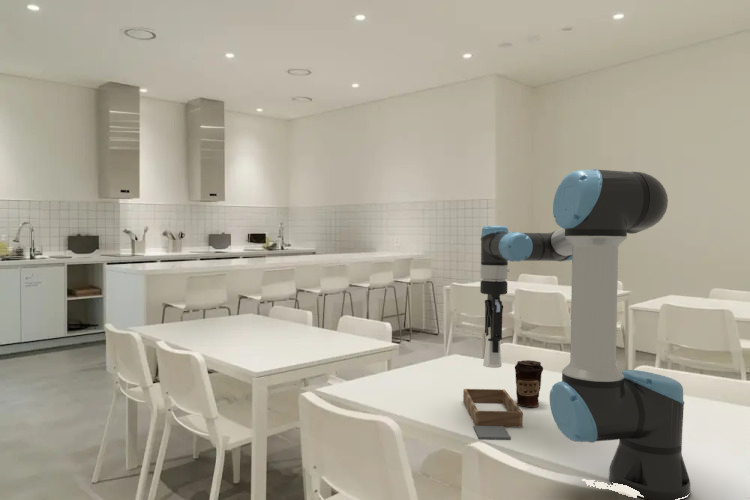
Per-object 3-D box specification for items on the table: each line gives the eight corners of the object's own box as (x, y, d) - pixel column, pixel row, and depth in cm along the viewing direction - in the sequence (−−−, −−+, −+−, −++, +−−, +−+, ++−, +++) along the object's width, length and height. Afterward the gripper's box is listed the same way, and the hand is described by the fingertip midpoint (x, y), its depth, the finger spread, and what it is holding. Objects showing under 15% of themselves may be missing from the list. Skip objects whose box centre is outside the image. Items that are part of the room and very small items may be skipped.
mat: (510, 439, 141) (510, 437, 141) (478, 439, 141) (478, 436, 141) (503, 428, 149) (503, 426, 149) (473, 427, 149) (473, 425, 149)
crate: (522, 427, 150) (522, 412, 150) (475, 426, 150) (475, 411, 150) (504, 402, 171) (504, 389, 171) (463, 401, 171) (463, 388, 171)
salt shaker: (488, 362, 164) (489, 325, 163) (505, 365, 160) (506, 327, 160) (479, 365, 159) (479, 327, 159) (496, 368, 156) (497, 329, 156)
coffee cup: (543, 410, 164) (544, 366, 164) (514, 408, 166) (515, 364, 166) (540, 401, 173) (541, 359, 172) (513, 399, 175) (514, 358, 174)
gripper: (514, 282, 151) (512, 369, 151) (500, 278, 168) (499, 355, 168) (486, 282, 151) (485, 368, 151) (475, 277, 168) (474, 355, 168)
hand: (492, 361), depth 160 cm, fingers closed on salt shaker, 4 cm apart
